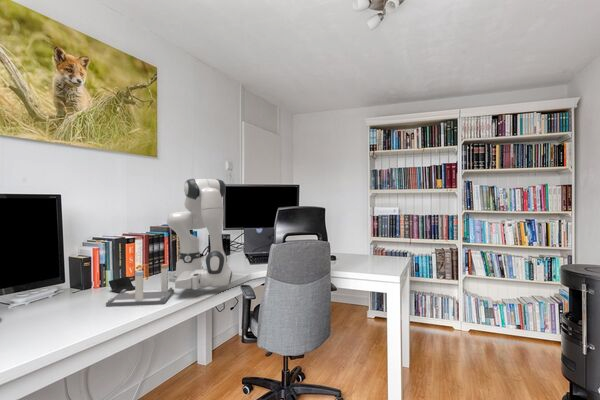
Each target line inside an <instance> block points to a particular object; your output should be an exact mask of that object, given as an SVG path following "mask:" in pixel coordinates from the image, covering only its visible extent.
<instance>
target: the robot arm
mask: <svg viewBox="0 0 600 400" xmlns="http://www.w3.org/2000/svg"><path fill="white" fill-rule="evenodd" d="M226 190H227V188H226V183H225V182H224V180H221V179H219V178H216V179H214V178H206V177H205V178H189V179H187V180H185V182H184V186H183V192H184V194H185V199H184V203H183V205H184V208H185V209H186V210H187V211H174V212H171V213H170V214H169V215H168V217H167V219H166V223H167V227H169V229H170V230H172V231H173V232H175V233H176V235H177V237H178V240H179V253H178V258H179V259H178V260H177V261H176V267H175V273H173V274H172V276H171V277H168V283H174V287H175V289H178V290H179V289H180V290H181V289H184V290H189V289H192V290H193V291H194V290H195V291H196V290H198V289H201V288H208V287H210V288H220V287H227V286H228V285H230V283H231V281H232V277H233V270H232V269H231V268H230V266H229V264H228V256H227V254H226V252H225V250H224V246H223V237H222V235H223V233H222V232H223V231H222V230H223V224H224V223H223V222H224V204H223V203H224V202H223V197H224V196H225V195H226V193H227V192H226ZM202 229H207V231H208V235H209V243H210V252H209V253H208V254H207V255H206V257H205V264H206V265H205V266H206V268H204V267H203V261H202V260H201V258H200V257H201V252H200V239H199V237H197V236H196V235H193V234H192V233H191V232H190V230H202Z"/></svg>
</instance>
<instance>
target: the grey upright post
mask: <svg viewBox="0 0 600 400" xmlns="http://www.w3.org/2000/svg"><path fill="white" fill-rule="evenodd" d="M160 270H161V271H160V280H161V281H160V290H161V291H167V290H169V263H163V264H161V265H160Z"/></svg>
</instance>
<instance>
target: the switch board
mask: <svg viewBox="0 0 600 400" xmlns="http://www.w3.org/2000/svg"><path fill="white" fill-rule="evenodd" d="M174 293H175V289H173V287H168V290H167V291H161V289H149V290H145V289H143V300H142V301H135V290H132V291H126V289H123V290H122V291H121V293H119V294H118V293H117V294H116V295H115V296H114V297H111V298H110V299H108V300H107V302H106V303H105V307H109V308H110V307H125V306H127V307H129V306H150V305H153V306H154V305H165V304H166V303H167V302H168V300H169V299H170V298H171V297H172V295H174Z"/></svg>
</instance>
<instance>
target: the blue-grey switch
mask: <svg viewBox="0 0 600 400" xmlns="http://www.w3.org/2000/svg"><path fill="white" fill-rule="evenodd" d="M144 274H145V273H144V270H136V271H135V272H134V277H135V279H134V283H135V285H134V286H135V290H134V291H135V301H142V300H143V290H144Z"/></svg>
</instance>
